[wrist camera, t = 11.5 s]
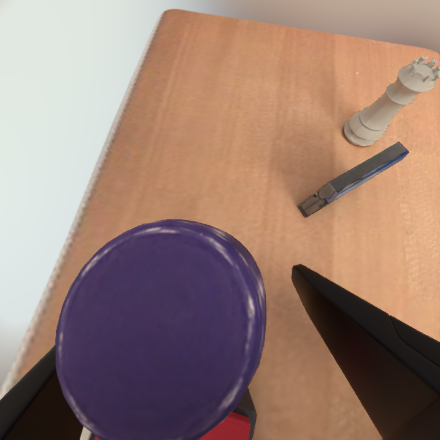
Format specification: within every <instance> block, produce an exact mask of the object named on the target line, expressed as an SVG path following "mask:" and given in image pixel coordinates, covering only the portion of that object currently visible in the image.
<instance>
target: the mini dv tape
mask: <svg viewBox="0 0 440 440" xmlns="http://www.w3.org/2000/svg"><path fill="white" fill-rule="evenodd" d="M408 153H409V151H408V150H407V149H406V148H405V147H404V146H403V145H402V144H401V143H400V142H397V143H396V144H394V145H392V146H390V147H389V148H387V149H385V150H384V151H382V152H380V153H378V154H377V155H375V156H373V157H371V158H370V159H368V160H366V161H365V162H363V163H361V164H359V165H358V166H356V167H354V168H352V169H351V170H349V171H347V172H346V173H344V174H342V175H340V176H339V177H337V178H335V179H333V180H332V181H330V182H328V183H327V184H326V185H324V186H323V187H322V188H321V189H319V190H318V191H317V192H316V193H314V194H313V195H312V196H311V197H309V198H308V199H307V200H306V201H304V202H303V203H302V204H300V205H299V206H298V208H299V209H300V211H301V212H302V213H303V215H304V216H305V217H308V216H310V215H311V214H313V213H315V212H316V211H318V210H320V209H321V208H323V207H325V206H326V205H328V204H329V203H331V202H333V201H334V200H336V199H338V198H339V197H341V196H343V195H344V194H346V193H348V192H349V191H351V190H353V189H354V188H356V187H358V186H359V185H361V184H363V183H364V182H366V181H368V180H369V179H371V178H373V177H374V176H376V175H378V174H379V173H381V172H383V171H384V170H386V169H388V168H389V167H391V166H393V165H394V164H396V163H398V162H399V161H401V160H402V159H403V158H404V157H405V156H406V155H407V154H408Z"/></svg>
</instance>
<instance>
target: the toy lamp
mask: <svg viewBox="0 0 440 440" xmlns="http://www.w3.org/2000/svg"><path fill="white" fill-rule="evenodd" d="M265 330H266V294H265V289H264V283H263V279H262V276H261V273H260V270H259V268H258V266H257V264H256V262H255V260H254V259H253V257H252V255H251V254H250V252H249V251H248V250H247V249H246V248H245V247H244V246H243V245H242V244H241V243H240V242H239V241H238V240H237V239H235V238H234V237H233V236H231V235H230V234H228V233H226V232H224V231H222V230H220V229H217V228H215V227H212V226H210V225H206V224H202V223H199V222H195V221H188V220H177V219H167V220H161V221H156V222H152V223H145V224H142V225H139V226H137V227H135V228H133V229H130V230H128V231H126V232H124V233H122V234H121V235H119V236H117V237H116V238H114V239H113V240H111V241H109V242H108V243H106V244H105V245H104V246H103V247H102V248H101V249H100V250H99V251H97V252H96V253H95V254H94V255H93V256H92V258H91V259H90V260H89V261H88V262H87V263H86V264H85V266H84V267H83V268H82V269H81V271H80V273H79V274H78V276H77V277H76V279H75V281H74V282H73V284H72V285H71V287H70V289H69V292H68V294H67V296H66V299H65V301H64V303H63V306H62V310H61V313H60V317H59V321H58V325H57V330H56V340H55V344H56V370H57V375H58V379H59V382H60V385H61V388H62V392H63V395H64V397H65V399H66V401H67V402H68V404H69V406H70V407H71V409H72V411H73V412H74V414H75V415H76V417H77V418H78V420H79V422H80V423H81V424H82V425H83V426H84V427H85V428H86V429H88V430H89V431H90V432H91V433H93V434H94V435H95V436H96V437H98V438H99V439H100V440H199V439H200V438H201V437H203V436H204V435H205V434H207V433H208V432H209V431H211V430H212V429H213V428H215V427H216V426H217V425H219V424H220V423H222V422H223V421H224V420H225V419H226V418H227V417H228V415H229V414H230V413H231V412H232V411H233V410H234V409H235V408H236V407H237V405H238V403H239V402H240V400H241V398H242V396H243V395H244V393H245V391H246V389H247V388H248V386H249V384H250V382H251V380H252V378H253V376H254V374H255V372H256V370H257V368H258V366H259V364H260V359H261V355H262V351H263V346H264V340H265Z"/></svg>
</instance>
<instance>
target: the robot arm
mask: <svg viewBox="0 0 440 440" xmlns="http://www.w3.org/2000/svg"><path fill="white" fill-rule="evenodd" d="M292 282H293V284H294V287H295V289H296V291H297V293H298V295H299V297H300V299H301V301H302V303H303V306H304V308H305V310H306V312H307V314H308V315H309V317H310V319H311V320H312V322H313V324H314V325H315V327H316V329H317V330H318V332H319V334H320V335H321V337H322V339H323V340H324V342H325V344H326V345H327V347H328V349H329V350H330V352H331V354H332V355H333V357H334V359H335V360H336V362H337V364H338V365H339V367H340V369H341V370H342V372H343V374H344V375H345V377H346V379H347V380H348V382H349V384H350V385H351V387H352V389H353V390H354V392H355V393H356V395H357V397H358V398H359V400H360V402H361V403H362V405H363V407H364V408H365V410H366V412H367V413H368V415H369V417H370V418H371V420H372V422H373V423H374V425H375V427H376V428H377V430H378V432H379V433H380V435H381V437H382V438H383V440H440V342H439V341H437V340H435V339H433V338H431V337H429V336H427V335H425V334H423V333H421V332H420V331H418V330H416V329H414V328H412V327H411V326H409V325H407V324H405V323H403V322H402V321H400V320H398V319H396V318H395V317H393V316H391V315H390V316H389V314H388V313H386V312H384V311H382V310H381V309H379V308H377V307H375V306H374V305H372V304H370V303H368V302H367V301H365V300H363V299H361V298H360V297H358V296H356V295H354V294H353V293H351V292H349V291H348V290H346V289H344V288H342V287H341V286H339V285H337V284H335V283H334V282H332V281H330V280H328V279H327V278H325V277H323V276H321V275H320V274H318V273H316V272H314V271H313V270H311V269H309V268H307V267H306V266H304V265H302V264H299V265H294V266H293V267H292ZM83 427H84V426H83V425H82V424H81V423H80V422H79V420H78V418H77V417H76V415H75V414H74V412H73V411H72V409H71V407H70V406H69V404H68V402H67V401H66V399H65V397H64V395H63V392H62V388H61V385H60V382H59V379H58V375H57V370H56V345H55V346H54V347H53V348H52V349H51V350H50V351H49V352H48V353H47V354H46V355H45V356H44V357H43V358H42V359H41V360H40V361H39V362H38V363H37V364H36V365H35V366H34V367H33V368H32V369H31V370H30V371H29V372H28V373H27V374H26V375H25V376H24V377H23V378H22V379H21V380H20V381H19V382H18V383H17V384H16V385H15V386H14V387H13V388H12V389H11V390H10V391H9V392H8V393H7V394H6V395H5V396H4V397H3V398H2V399H1V400H0V440H80V438H81V434H82V431H83Z"/></svg>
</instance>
